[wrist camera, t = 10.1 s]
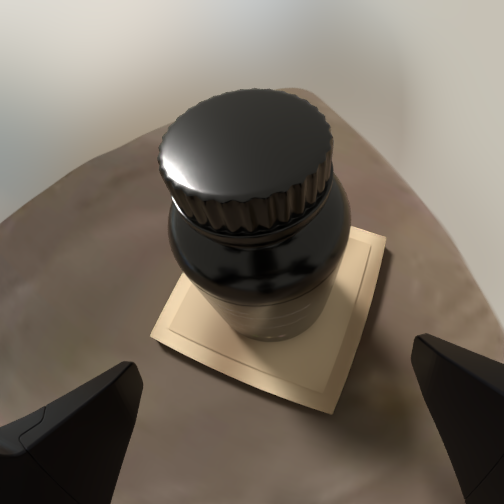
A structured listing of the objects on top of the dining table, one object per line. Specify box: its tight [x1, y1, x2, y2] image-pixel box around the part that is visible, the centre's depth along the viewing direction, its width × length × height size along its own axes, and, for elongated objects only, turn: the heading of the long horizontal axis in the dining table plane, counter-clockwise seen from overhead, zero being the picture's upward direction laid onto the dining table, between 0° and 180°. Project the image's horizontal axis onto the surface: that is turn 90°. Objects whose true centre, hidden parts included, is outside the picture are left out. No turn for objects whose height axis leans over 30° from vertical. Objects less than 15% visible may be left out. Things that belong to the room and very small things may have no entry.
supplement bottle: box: [157, 88, 351, 342], centre depth 13 cm, size 7×7×12 cm
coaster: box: [150, 226, 386, 414], centre depth 18 cm, size 12×12×1 cm
